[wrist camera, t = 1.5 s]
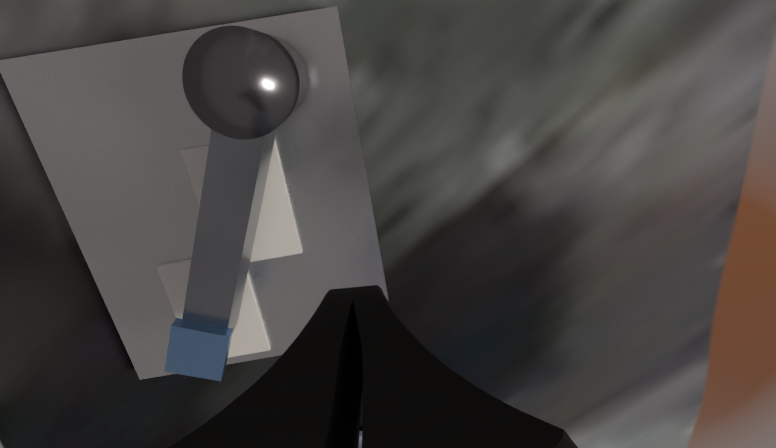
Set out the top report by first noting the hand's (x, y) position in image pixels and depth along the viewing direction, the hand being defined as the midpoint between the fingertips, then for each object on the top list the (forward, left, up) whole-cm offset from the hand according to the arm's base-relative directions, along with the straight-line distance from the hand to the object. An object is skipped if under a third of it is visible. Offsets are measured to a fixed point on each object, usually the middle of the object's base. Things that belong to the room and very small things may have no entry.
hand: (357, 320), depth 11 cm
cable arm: (+2, +4, -7) cm, 8 cm away
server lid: (+1, +5, -8) cm, 10 cm away
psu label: (+2, +4, -7) cm, 9 cm away
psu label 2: (-3, +7, -7) cm, 10 cm away
